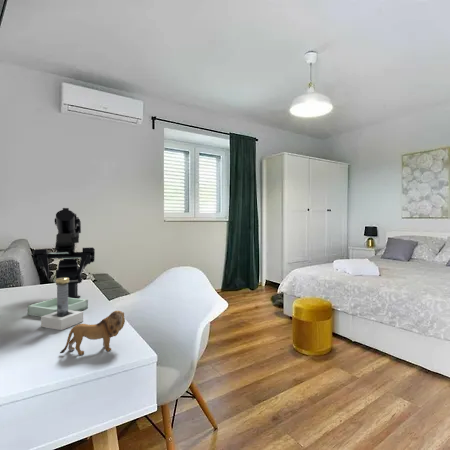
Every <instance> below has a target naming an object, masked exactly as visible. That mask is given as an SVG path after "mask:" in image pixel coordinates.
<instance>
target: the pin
mask: <svg viewBox="0 0 450 450" xmlns="http://www.w3.org/2000/svg"><path fill="white" fill-rule="evenodd" d="M56 283H57V285H56V298H57V317H64V316H67V315H68V283H69V278H67V277H64V278H57V279H56V278H55V284H56Z"/></svg>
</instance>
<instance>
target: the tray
mask: <svg viewBox="0 0 450 450" xmlns="http://www.w3.org/2000/svg"><path fill="white" fill-rule="evenodd" d="M88 308H89V299H84V298H69V297H68V310H73V311H80V312H82V311H83V310H86V309H88ZM54 312H57V297H54V298H51V299H47V300H44V301H41V302H40V301H39V302H37V303H32V304H29V305H27V316H33V317H40V318H41V317H42V316H45V315H48V314H51V313H54Z"/></svg>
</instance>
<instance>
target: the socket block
mask: <svg viewBox="0 0 450 450" xmlns="http://www.w3.org/2000/svg"><path fill="white" fill-rule="evenodd" d="M83 322H84V311H73V310H68V315H67V316H64V317H57V312H54V313H51V314H48V315H45V316H42V317H40V327H41V328H47V329H53V330H56V331H57V330H58V331H59V330H60V331H63V330H65V329H68V328H70V327H74V326H76V325H78V324H81V323H83Z"/></svg>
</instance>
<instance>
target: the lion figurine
mask: <svg viewBox="0 0 450 450" xmlns="http://www.w3.org/2000/svg"><path fill="white" fill-rule="evenodd" d="M125 320H126V318H125V312H123V311H121V310H114V311H112V312H110V314H109V315H108V316H106V317H105V318H103V319H102V320H100V322H97V323H95V324H87V323H78V324H75V325H73V326H72V328H71V330H70V331H69V334H68V336H67V339H66V344H65V346H64V348H63V349H62V350H60V351H59V354H63V353H65V351H67V349H68V351H70V352H73V351H75V350H76V352H77V354H78V355H79V356H83V355H84V354H85V351H84V350H81V344H82V342H83V339H84V338H87V339H88V340H90V341H91V340H93V341H95V340H100V339H102V346H103V348H104V349H105V351H106V350H107V351H106V352H110V351H109V350H111V351H112V348H111V347H110V343H111V338H113V337H116V336H117V335H119V332H120V331H121V330H122V329H123V328H124V326H125V322H126V321H125ZM72 335H73V336H72ZM75 343H76V344H75ZM74 344H75V347H73V345H74Z"/></svg>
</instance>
